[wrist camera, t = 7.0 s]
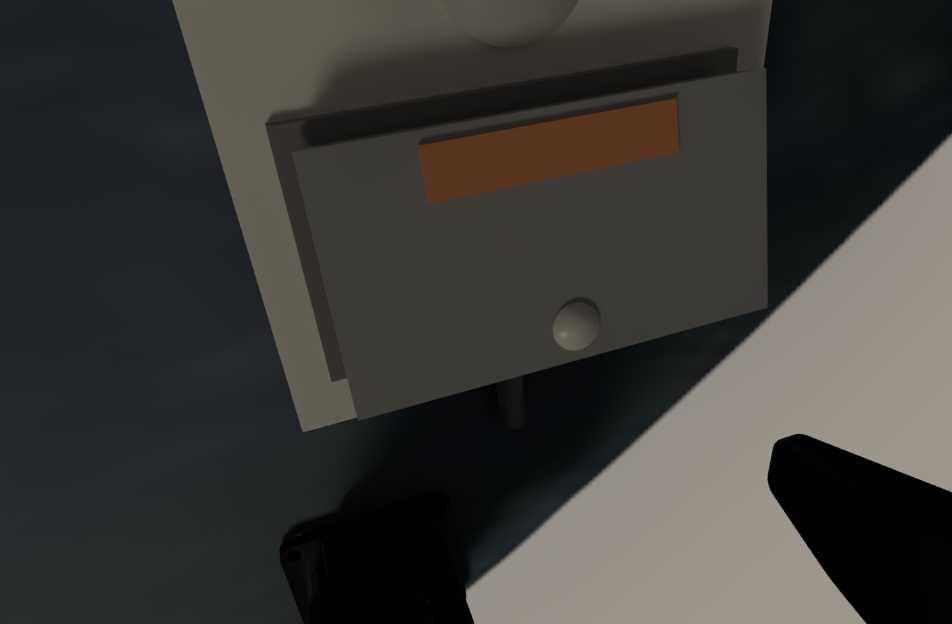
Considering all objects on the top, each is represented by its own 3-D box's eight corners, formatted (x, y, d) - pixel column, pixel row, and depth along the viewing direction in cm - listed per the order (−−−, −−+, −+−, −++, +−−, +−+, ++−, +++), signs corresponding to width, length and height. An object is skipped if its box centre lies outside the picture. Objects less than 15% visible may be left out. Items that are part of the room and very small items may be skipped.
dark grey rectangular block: (737, 295, 18) (770, 308, 17) (352, 399, 16) (358, 423, 14) (732, 71, 16) (769, 67, 15) (291, 149, 14) (292, 152, 12)
